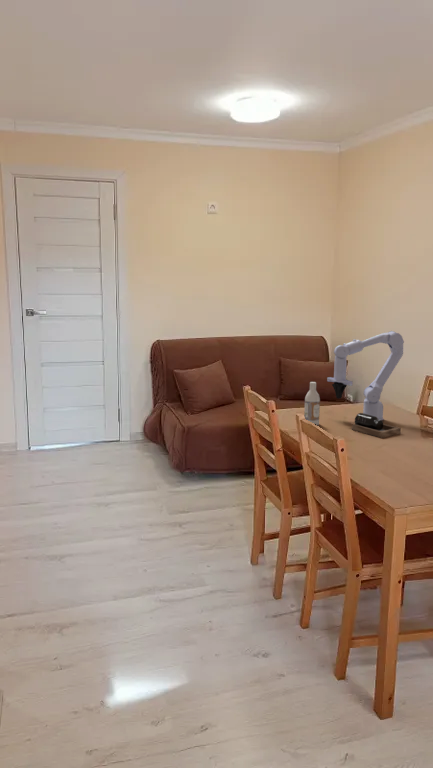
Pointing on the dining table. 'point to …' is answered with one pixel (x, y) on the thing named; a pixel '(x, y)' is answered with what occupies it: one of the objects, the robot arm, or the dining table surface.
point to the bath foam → (312, 405)
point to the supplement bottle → (368, 421)
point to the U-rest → (384, 432)
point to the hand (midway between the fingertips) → (338, 398)
